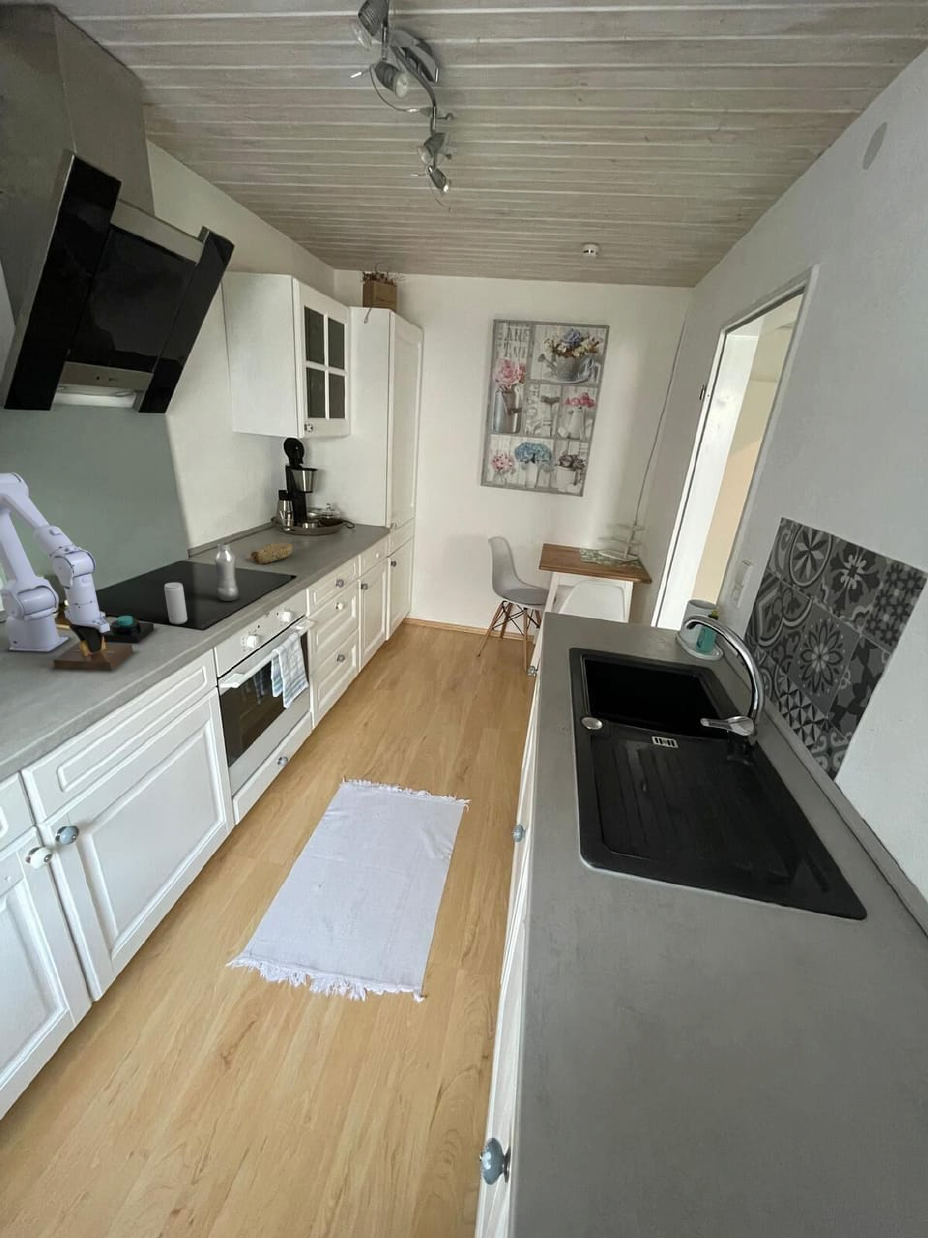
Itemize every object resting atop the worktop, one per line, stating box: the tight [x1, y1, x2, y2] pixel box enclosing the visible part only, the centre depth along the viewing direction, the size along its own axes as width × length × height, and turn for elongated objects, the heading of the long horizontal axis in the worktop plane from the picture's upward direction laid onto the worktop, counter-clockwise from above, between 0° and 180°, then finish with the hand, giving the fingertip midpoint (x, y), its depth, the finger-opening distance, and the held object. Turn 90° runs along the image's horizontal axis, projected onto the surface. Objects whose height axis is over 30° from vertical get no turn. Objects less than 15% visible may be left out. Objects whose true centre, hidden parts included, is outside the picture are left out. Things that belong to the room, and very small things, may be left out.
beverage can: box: [164, 582, 188, 625], centre depth 147 cm, size 5×5×12 cm
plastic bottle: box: [214, 541, 240, 602], centre depth 165 cm, size 6×7×20 cm
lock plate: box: [52, 641, 134, 672], centre depth 124 cm, size 13×10×3 cm
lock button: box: [116, 615, 133, 626], centre depth 137 cm, size 4×4×2 cm
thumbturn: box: [78, 637, 106, 656], centre depth 123 cm, size 5×2×4 cm, turn 155°
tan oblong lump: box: [250, 542, 294, 565], centre depth 213 cm, size 13×8×20 cm
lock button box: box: [103, 617, 155, 644], centre depth 138 cm, size 10×9×4 cm
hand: (93, 650), depth 124 cm, fingers closed on thumbturn, 2 cm apart
